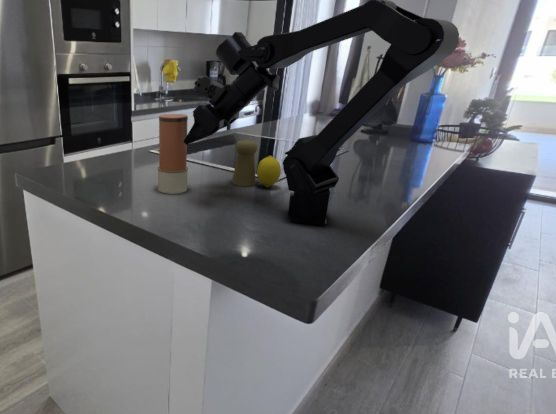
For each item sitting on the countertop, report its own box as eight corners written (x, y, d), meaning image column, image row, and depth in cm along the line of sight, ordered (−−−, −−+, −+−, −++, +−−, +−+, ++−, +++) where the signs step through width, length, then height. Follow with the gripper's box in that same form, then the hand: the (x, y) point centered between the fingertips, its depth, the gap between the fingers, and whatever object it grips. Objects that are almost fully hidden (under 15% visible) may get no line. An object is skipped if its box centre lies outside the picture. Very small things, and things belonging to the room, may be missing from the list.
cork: (258, 186, 96) (262, 142, 92) (234, 186, 96) (237, 143, 93) (252, 179, 102) (256, 138, 98) (229, 179, 102) (232, 138, 98)
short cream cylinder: (190, 186, 97) (191, 165, 95) (182, 195, 90) (183, 172, 89) (163, 183, 99) (163, 163, 97) (153, 192, 93) (153, 170, 91)
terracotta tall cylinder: (189, 165, 95) (190, 114, 90) (182, 172, 89) (183, 117, 85) (163, 163, 97) (163, 113, 93) (155, 170, 91) (155, 117, 87)
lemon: (255, 189, 94) (258, 157, 91) (256, 183, 99) (258, 152, 96) (279, 191, 92) (282, 158, 89) (278, 184, 97) (282, 153, 94)
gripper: (228, 62, 88) (182, 109, 97) (204, 61, 73) (152, 118, 81) (260, 97, 88) (211, 142, 96) (243, 105, 72) (186, 158, 80)
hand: (191, 139), depth 88 cm, fingers open, 9 cm apart
